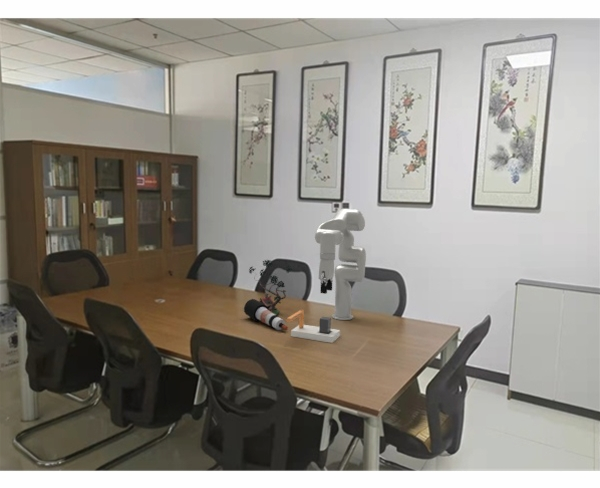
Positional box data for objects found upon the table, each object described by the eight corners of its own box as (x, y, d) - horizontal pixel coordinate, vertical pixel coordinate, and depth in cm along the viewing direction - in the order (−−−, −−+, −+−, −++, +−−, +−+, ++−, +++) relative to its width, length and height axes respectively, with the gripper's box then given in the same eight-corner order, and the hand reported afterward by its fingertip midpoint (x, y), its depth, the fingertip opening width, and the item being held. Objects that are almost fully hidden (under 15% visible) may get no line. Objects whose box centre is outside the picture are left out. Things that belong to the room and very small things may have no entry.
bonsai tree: (300, 311, 285) (301, 260, 281) (273, 320, 266) (274, 265, 262) (258, 301, 307) (259, 254, 302) (231, 308, 288) (231, 258, 284)
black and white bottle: (281, 341, 244) (276, 326, 240) (247, 319, 270) (241, 305, 265) (296, 330, 249) (290, 315, 244) (261, 309, 275) (255, 295, 270)
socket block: (300, 331, 247) (300, 324, 247) (339, 337, 239) (340, 330, 238) (290, 338, 236) (291, 330, 236) (332, 344, 228) (332, 336, 227)
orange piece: (300, 326, 242) (300, 309, 240) (304, 327, 241) (304, 310, 240) (286, 336, 226) (286, 318, 225) (290, 336, 225) (290, 318, 224)
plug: (322, 335, 238) (322, 316, 237) (330, 336, 237) (331, 317, 235) (319, 338, 234) (319, 318, 233) (327, 339, 233) (328, 319, 231)
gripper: (326, 253, 240) (325, 287, 242) (314, 258, 224) (313, 294, 226) (340, 254, 237) (338, 289, 239) (328, 259, 221) (327, 296, 223)
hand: (326, 291), depth 232 cm, fingers open, 7 cm apart
